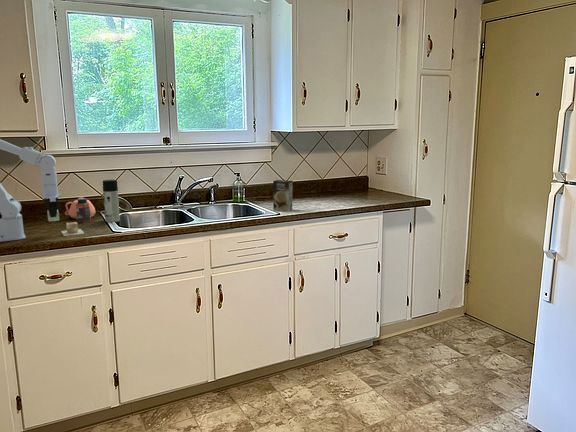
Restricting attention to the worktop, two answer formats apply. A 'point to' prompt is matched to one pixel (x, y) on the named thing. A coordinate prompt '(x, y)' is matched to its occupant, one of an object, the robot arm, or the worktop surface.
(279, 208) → the coffee box
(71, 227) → the beech brick
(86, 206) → the supplement bottle
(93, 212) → the sugar bowl
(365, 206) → the worktop surface
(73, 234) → the baseplate
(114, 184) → the spray can
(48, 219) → the sage brick
